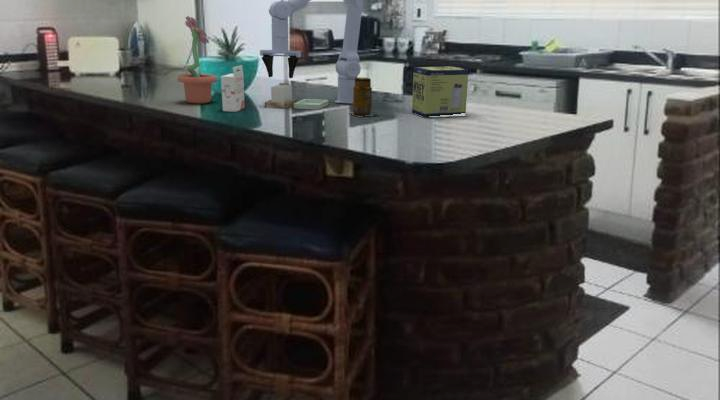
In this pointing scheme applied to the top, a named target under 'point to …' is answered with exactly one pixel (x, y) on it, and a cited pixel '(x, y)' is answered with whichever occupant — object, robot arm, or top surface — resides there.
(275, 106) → the caddy bay
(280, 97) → the light grey square block
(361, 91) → the condiment
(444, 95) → the protein box
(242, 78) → the ink cartridge box
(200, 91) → the decorative flower
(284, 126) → the top surface
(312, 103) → the tray
